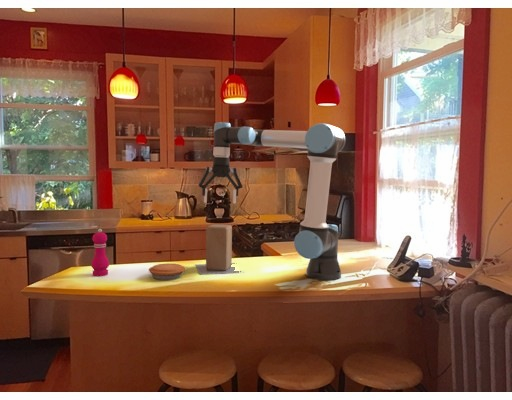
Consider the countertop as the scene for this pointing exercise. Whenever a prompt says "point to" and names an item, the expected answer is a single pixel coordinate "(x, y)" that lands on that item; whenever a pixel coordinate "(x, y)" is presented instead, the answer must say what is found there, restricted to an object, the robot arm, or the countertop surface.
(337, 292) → the countertop surface
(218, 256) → the block
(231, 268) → the board
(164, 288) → the countertop surface
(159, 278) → the pie
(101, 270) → the pepper mill
